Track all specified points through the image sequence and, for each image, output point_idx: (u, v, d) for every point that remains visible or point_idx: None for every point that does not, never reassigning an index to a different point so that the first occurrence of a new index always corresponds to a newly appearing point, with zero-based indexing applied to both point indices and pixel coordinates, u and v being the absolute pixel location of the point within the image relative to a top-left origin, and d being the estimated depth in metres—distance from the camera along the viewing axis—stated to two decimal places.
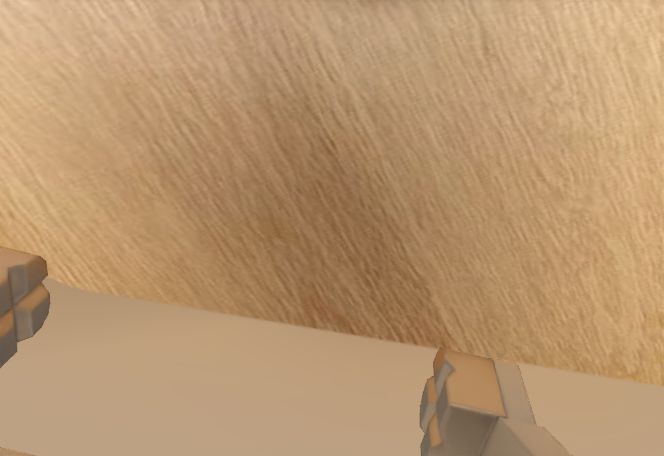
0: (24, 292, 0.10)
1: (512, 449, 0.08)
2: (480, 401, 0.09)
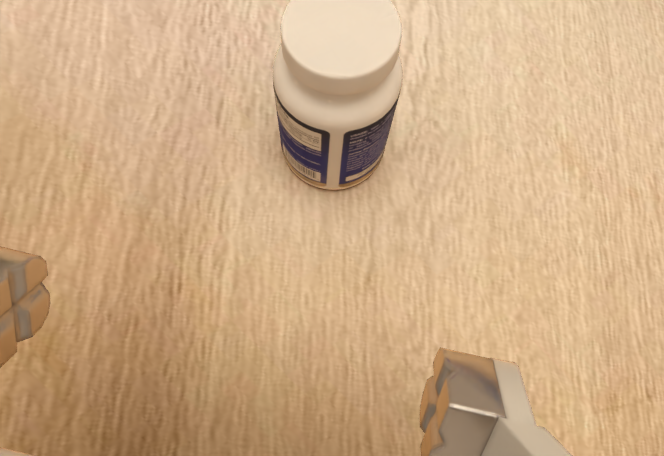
0: (24, 292, 0.10)
1: (512, 449, 0.08)
2: (480, 401, 0.09)
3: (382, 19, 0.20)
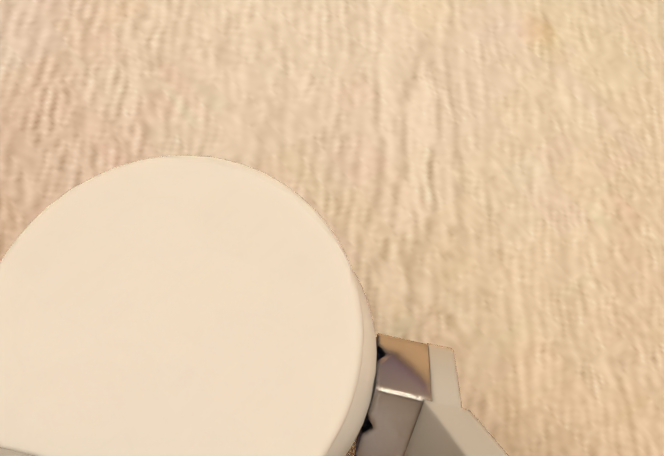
0: None
1: (435, 431, 0.08)
2: (408, 384, 0.09)
3: (301, 304, 0.06)
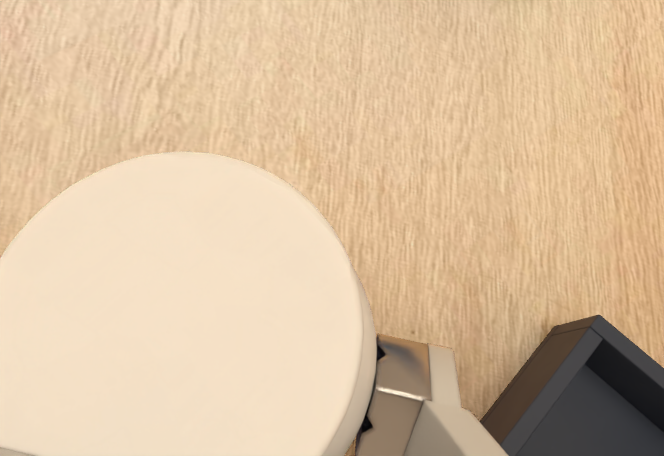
0: None
1: (434, 431, 0.08)
2: (407, 384, 0.09)
3: (301, 301, 0.06)
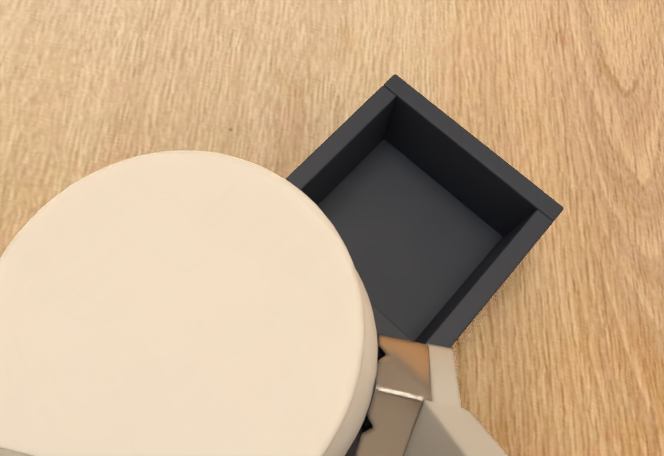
0: None
1: (435, 432, 0.08)
2: (408, 384, 0.09)
3: (303, 299, 0.06)
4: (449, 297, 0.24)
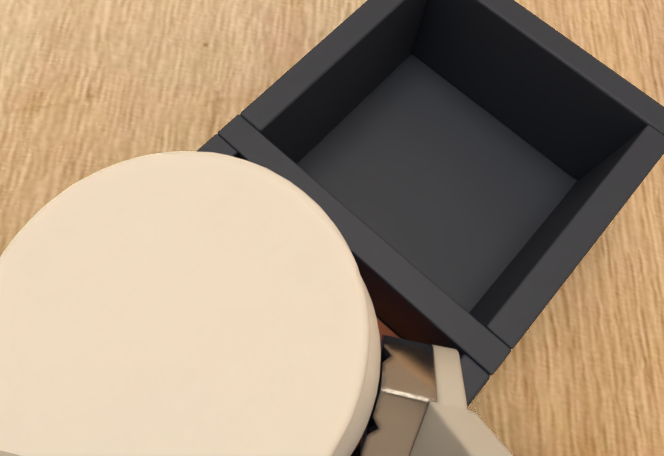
0: None
1: (441, 432, 0.08)
2: (413, 385, 0.09)
3: (306, 303, 0.06)
4: (508, 262, 0.17)
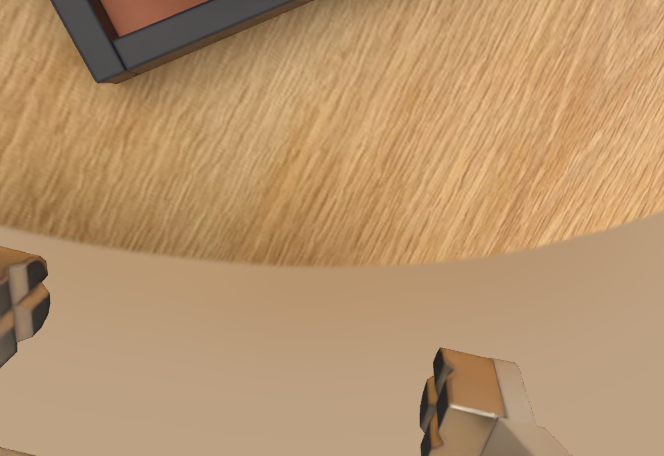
0: (24, 292, 0.10)
1: (512, 449, 0.08)
2: (480, 401, 0.09)
3: None
4: None
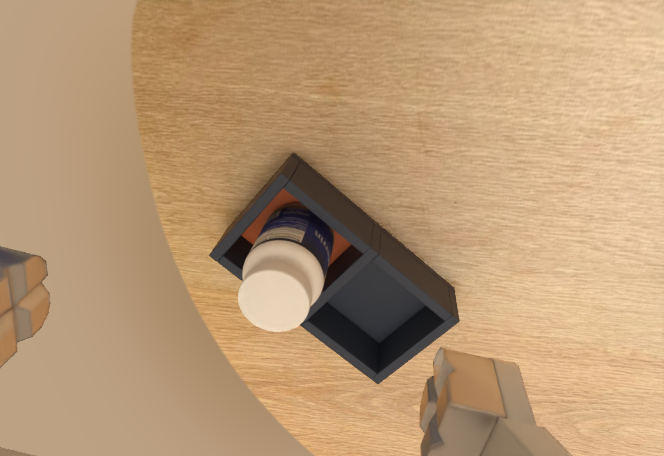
0: (24, 292, 0.10)
1: (512, 449, 0.08)
2: (480, 401, 0.09)
3: (279, 323, 0.33)
4: (345, 316, 0.45)
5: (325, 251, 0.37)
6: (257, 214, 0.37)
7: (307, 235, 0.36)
